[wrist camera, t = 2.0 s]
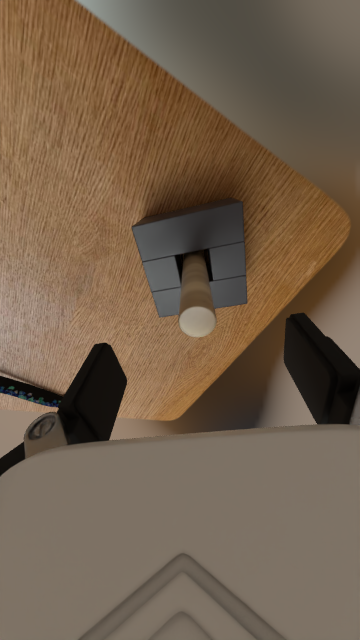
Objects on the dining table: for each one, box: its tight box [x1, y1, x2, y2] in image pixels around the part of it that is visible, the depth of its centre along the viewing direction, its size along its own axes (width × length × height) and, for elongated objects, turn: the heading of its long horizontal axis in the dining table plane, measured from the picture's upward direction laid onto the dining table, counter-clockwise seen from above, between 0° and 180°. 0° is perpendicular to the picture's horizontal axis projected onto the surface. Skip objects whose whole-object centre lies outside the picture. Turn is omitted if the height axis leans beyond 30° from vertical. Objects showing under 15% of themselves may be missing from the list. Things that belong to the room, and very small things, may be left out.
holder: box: [132, 198, 247, 317], centre depth 24 cm, size 10×10×6 cm
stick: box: [178, 250, 217, 337], centre depth 20 cm, size 2×2×16 cm
